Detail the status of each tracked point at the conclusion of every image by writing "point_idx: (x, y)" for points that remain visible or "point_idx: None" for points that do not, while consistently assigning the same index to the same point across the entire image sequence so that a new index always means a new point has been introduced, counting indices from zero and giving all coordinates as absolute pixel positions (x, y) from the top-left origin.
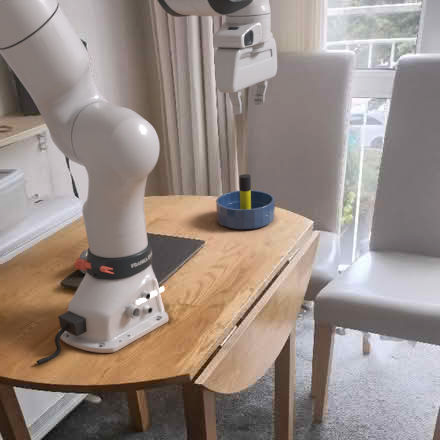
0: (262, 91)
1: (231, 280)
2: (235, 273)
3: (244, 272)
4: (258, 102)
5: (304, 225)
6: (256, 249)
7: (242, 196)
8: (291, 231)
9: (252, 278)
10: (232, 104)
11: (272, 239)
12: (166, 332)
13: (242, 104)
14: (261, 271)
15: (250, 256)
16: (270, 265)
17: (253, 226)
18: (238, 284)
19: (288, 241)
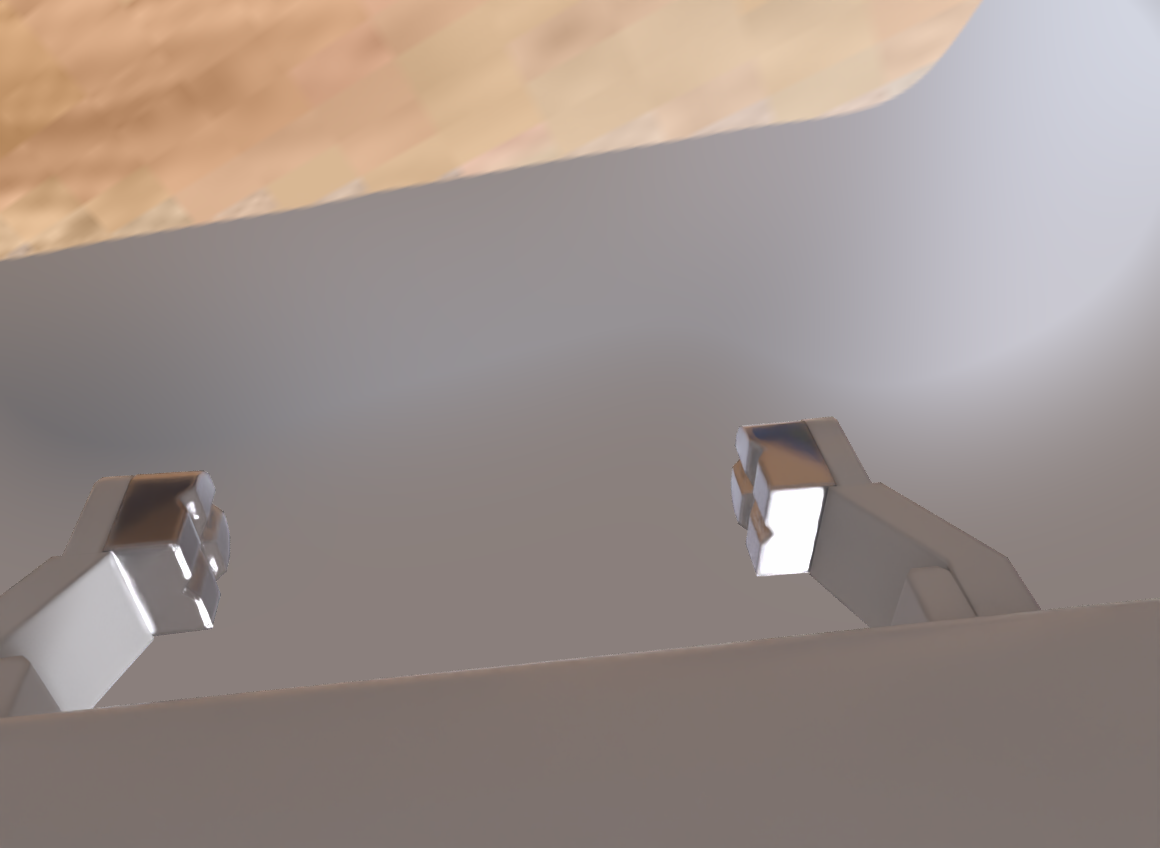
0: (844, 588)
1: (82, 96)
2: (157, 71)
3: (198, 107)
4: (745, 479)
5: (868, 96)
6: (470, 15)
7: None
8: (769, 71)
9: (174, 174)
10: (51, 563)
11: (630, 29)
12: None
13: (178, 630)
14: (262, 173)
15: (374, 33)
16: (343, 178)
17: None
18: (76, 149)
19: (638, 120)
